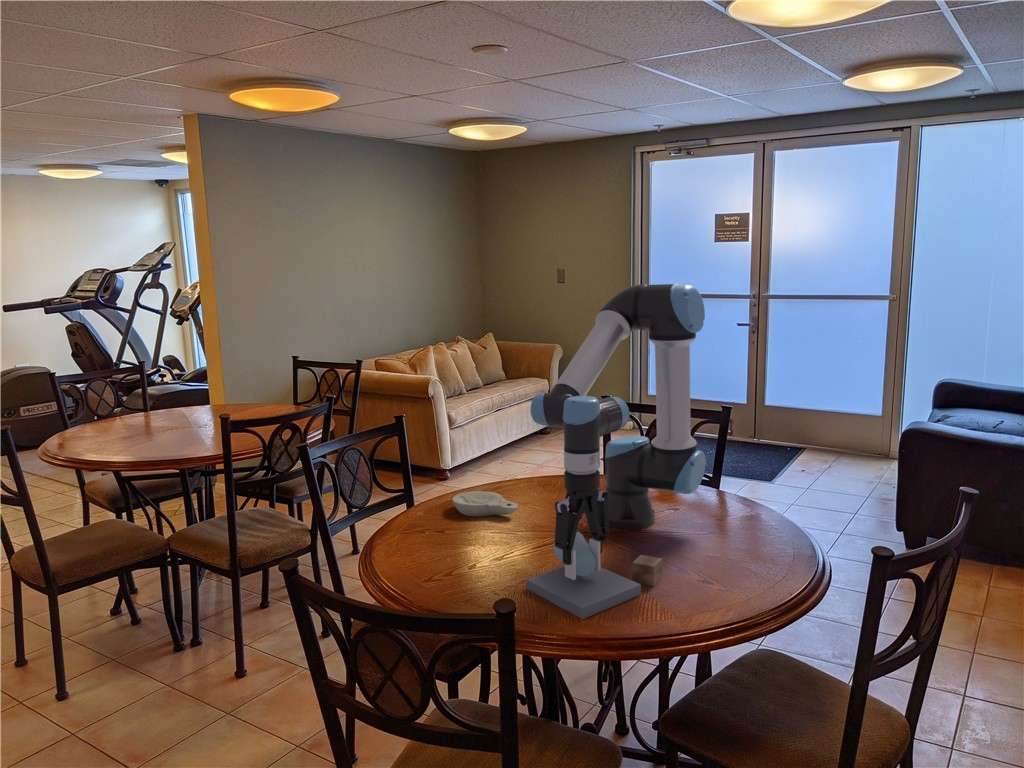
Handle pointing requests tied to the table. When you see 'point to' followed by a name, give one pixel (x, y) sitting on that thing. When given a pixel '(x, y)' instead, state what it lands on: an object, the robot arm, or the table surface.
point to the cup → (580, 556)
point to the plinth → (584, 590)
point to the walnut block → (647, 570)
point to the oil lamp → (483, 504)
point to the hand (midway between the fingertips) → (582, 572)
